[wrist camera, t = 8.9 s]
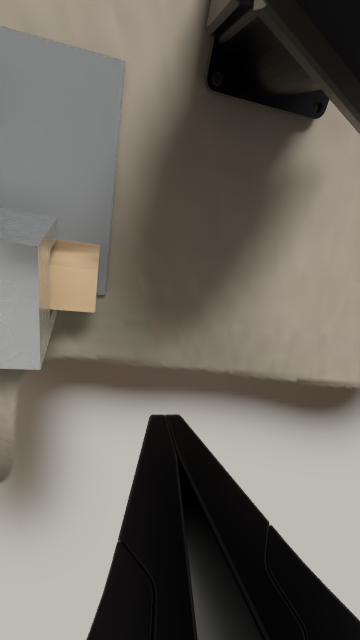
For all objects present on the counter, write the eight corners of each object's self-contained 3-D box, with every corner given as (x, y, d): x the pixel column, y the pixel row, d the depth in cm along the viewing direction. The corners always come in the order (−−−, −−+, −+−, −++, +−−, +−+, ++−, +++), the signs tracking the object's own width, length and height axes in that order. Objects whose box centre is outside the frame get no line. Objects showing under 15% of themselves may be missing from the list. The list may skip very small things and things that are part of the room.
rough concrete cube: (57, 216, 15) (38, 246, 11) (56, 315, 18) (40, 369, 13) (-39, 202, 14) (-100, 229, 10) (-25, 309, 16) (-70, 366, 12)
